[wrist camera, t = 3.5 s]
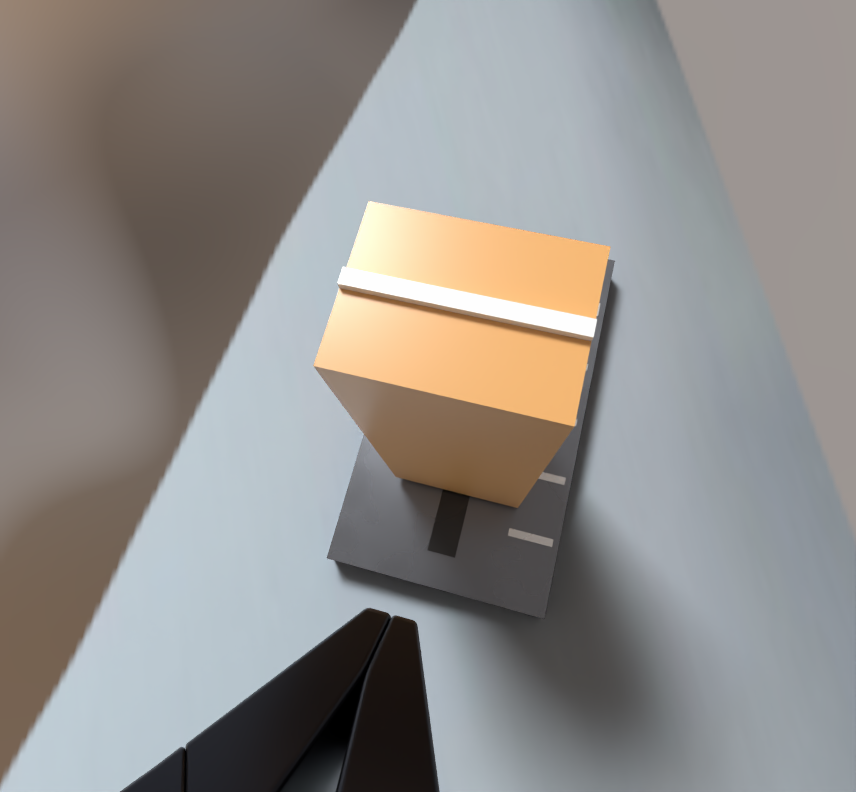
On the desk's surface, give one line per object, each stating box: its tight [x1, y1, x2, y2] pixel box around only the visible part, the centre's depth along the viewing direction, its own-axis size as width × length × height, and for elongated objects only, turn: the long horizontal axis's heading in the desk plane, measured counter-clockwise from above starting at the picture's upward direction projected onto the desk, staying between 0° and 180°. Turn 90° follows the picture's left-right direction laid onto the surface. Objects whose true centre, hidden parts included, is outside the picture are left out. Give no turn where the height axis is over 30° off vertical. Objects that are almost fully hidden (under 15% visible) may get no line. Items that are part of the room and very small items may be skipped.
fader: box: [313, 201, 610, 508], centre depth 14 cm, size 3×4×11 cm
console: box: [327, 260, 615, 619], centre depth 20 cm, size 12×7×1 cm, turn 165°
